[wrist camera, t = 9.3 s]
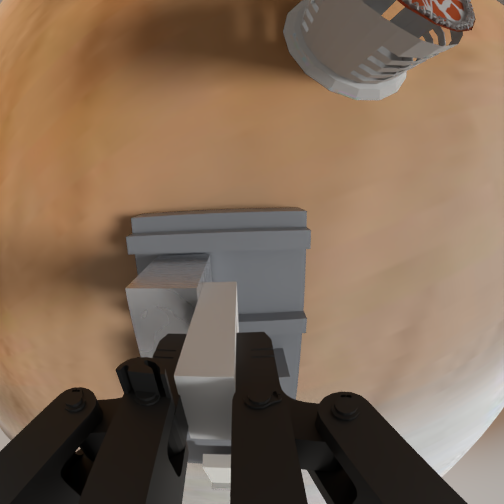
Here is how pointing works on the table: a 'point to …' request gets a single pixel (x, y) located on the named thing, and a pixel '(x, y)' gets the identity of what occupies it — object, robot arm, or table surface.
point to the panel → (241, 275)
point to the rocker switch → (218, 470)
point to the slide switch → (166, 297)
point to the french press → (370, 41)
